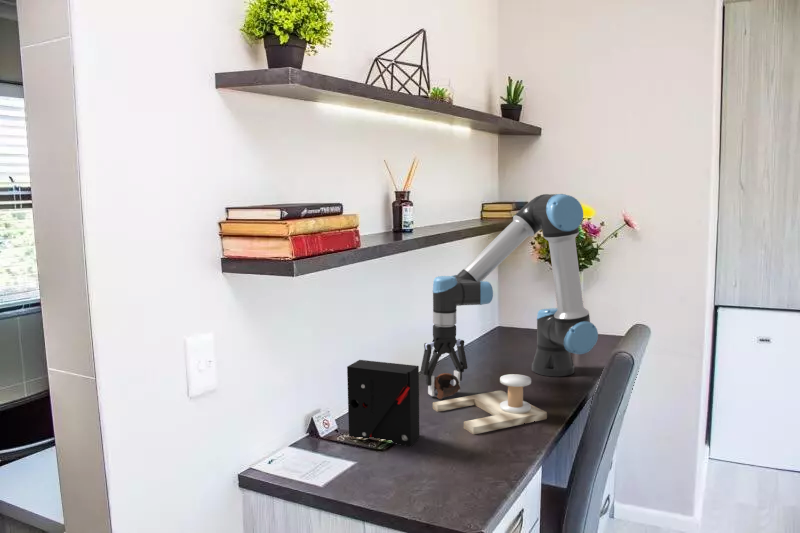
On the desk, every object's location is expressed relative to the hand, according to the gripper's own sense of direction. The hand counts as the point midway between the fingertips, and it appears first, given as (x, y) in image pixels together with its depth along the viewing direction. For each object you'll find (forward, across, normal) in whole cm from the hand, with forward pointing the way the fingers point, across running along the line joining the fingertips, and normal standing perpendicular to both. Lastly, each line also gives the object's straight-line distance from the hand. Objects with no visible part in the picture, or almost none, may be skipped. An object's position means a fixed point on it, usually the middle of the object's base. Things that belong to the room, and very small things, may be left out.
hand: (444, 392), depth 205 cm
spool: (-1, -10, +26) cm, 27 cm away
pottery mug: (+1, 0, 0) cm, 1 cm away
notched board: (+1, -2, +21) cm, 21 cm away
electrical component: (+1, +32, +23) cm, 39 cm away
